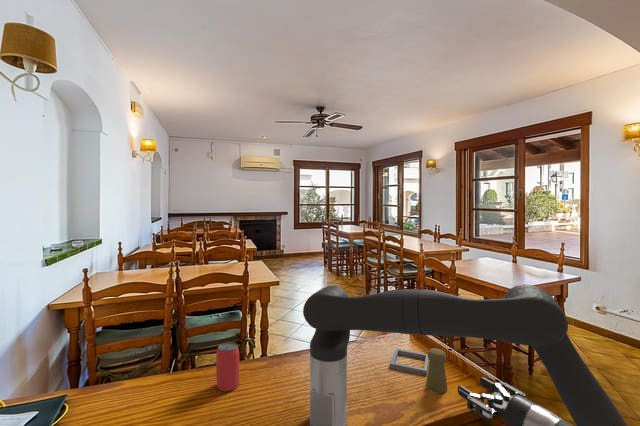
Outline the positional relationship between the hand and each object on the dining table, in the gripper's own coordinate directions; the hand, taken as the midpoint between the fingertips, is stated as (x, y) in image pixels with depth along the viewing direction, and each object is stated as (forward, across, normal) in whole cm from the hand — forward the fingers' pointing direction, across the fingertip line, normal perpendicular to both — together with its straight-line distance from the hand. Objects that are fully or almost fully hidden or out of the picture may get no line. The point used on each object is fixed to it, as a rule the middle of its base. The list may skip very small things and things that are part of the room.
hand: (469, 384), depth 82 cm
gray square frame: (+25, -3, +6) cm, 26 cm away
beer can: (+39, +55, +7) cm, 68 cm away
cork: (+11, 0, +7) cm, 13 cm away
